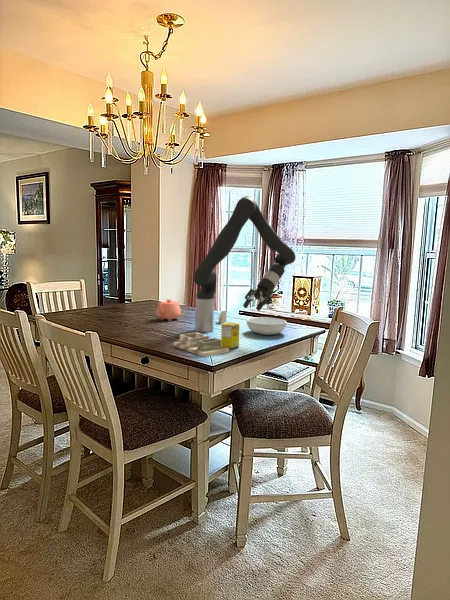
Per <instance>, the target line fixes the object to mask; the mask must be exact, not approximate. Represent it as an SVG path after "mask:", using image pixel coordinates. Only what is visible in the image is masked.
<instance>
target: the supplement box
mask: <svg viewBox="0 0 450 600" xmlns="http://www.w3.org/2000/svg"><path fill="white" fill-rule="evenodd" d="M220 330H221V331H220V332H221V336H220V337H221V339H220V340H221V346H224V347H227V348H229V350H231V351H232V350H235V349H237V348H239V347H240V323H235V322H229V321H228V322H226V323H223V324H221V329H220Z"/></svg>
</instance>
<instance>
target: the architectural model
mask: <svg viewBox="0 0 450 600" xmlns="http://www.w3.org/2000/svg"><path fill="white" fill-rule="evenodd" d="M227 317H228V316H227V310H221V312H220V314H219V315H218V317H216V319H218V324H219V323H220V324H221V325H222V323H223V324H224V323H225V322H226V323H227ZM220 324H219V325H220Z"/></svg>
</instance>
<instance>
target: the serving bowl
mask: <svg viewBox="0 0 450 600" xmlns="http://www.w3.org/2000/svg"><path fill="white" fill-rule="evenodd" d="M246 325H247V327H248V329H249V330H250V331H252V332H254V333H256V334H258V335H262V334H263V336H264V335H265V336H272V334H273V335H277V334H279V333H281V332H283V331H284V330H285V328H286V327H287V320H285V319H282V318H275V317H267V316H260V317H259V316H257V317H256V316H255V317H249V318H247V319H246Z"/></svg>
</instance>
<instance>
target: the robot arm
mask: <svg viewBox="0 0 450 600" xmlns="http://www.w3.org/2000/svg"><path fill="white" fill-rule="evenodd" d="M248 220H249V221H250V222H251V223H252V225H254V227H255V228H256V230H257V232H258V234H259V235H260V238H261V240H262V241H263V242H264V243H265V245H266V247H268V248H269V250H270V251H271V252H276V253H277V255H276V256H275V257H274V259H273V262H272V264H271V266H270V267H269V269H268V270H267V271H266V273H265V274H264V275H263V276H262V278H261V279H260V280H259V282H258V283H257V285H256V289H255V290H254V289H253V288H250V289H249V291H248V292H247V293H246V294H245V296H244V299H245V301H244V303H243V305H242V307H243V308H244V309H247V308H248V307H249V306H250V304H251V303H252V302H254V301H256V300H258V301H260V302H259V303H258V304H257V305H256V306H255V309H256V311H258V312H259V311H261V310H262V309H263V307H264V306H265V305H269V304H270V303H271V301H272V299H273V297H274V293H273V291H274V289H275V288H276V287H277V285H278V284H279V281H280V280H281V278H282V276H283V275H284V273H285V268H286V266H288V265H291V264H292V263H294V262H295V261H296V254H295V252H294V250H293V249H292V248H291V247H290V246H289V245H287V244H286V242H285V241H282V239H281V238H280V237H279V235H278V234H277V232H276V231H275V230H274V228H273V226H271V225H270V224H269V222H268V220H267V219H266V218H265V217H264V215H263V213H262V210H261V209H260V207H259V206H258V204H257V202H256V200H255V199H254V197H252V196H249V195H245V196H243V197H241V198H240V199H239V200H238V201H237V202H236V205H235V207H234V209H233V212H232V214H231V216H230V218H229V219H228V221H227V222H226V224H225V225H224V226H223V228H222V229H221V230H220V232H219V234H217V237H216V239H215V240H214V242H213V244H212V246H211V247H210V249H209V251H208V252H207V254H206V256H205V257H204V259H203V260H202V262H201V263H200V264H199V265H198V267H197V269H196V270H195V272H194V274H193V280H194V281H193V282H194V283H195V284H196V285H197V286H200V288H199V290H198V291H197V292H196V300H195V307H196V309H195V310H196V311H195V312H194V330H195V332H196V331H197V332H198V333H211V332H213V331H214V318H215V317H214V313H215V311H214V309H215V308H214V307H215V304H214V303H215V294H216V291H217V273H216V271H215V268H216V266H217V265H219V264H220V263H221V262H222V261H223V260H224V259H225V258H226V257H228V255H229V254H230V252H231V251H232V249H233V247H234V246H235V245H236V242H237V240H238V238H239V236H240V234H241V230H242V229H243V227H244V226H245V224H246V223H247V222H248Z"/></svg>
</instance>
